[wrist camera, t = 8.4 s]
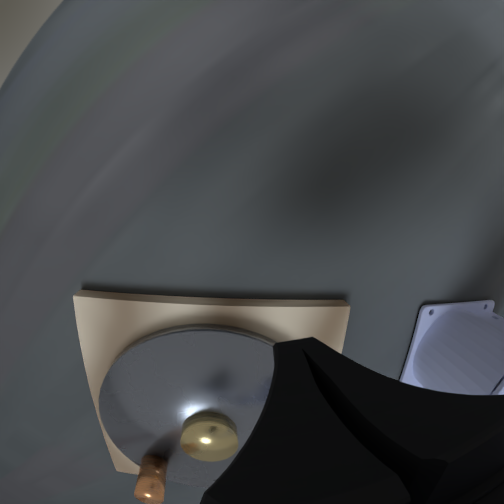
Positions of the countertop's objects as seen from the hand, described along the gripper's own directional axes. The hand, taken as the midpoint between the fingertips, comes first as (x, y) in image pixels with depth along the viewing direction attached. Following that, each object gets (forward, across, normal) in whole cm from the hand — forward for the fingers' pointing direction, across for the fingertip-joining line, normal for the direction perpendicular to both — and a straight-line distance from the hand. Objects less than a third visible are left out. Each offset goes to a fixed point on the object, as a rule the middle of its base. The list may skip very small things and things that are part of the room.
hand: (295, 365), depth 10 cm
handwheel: (+8, +5, +9) cm, 13 cm away
